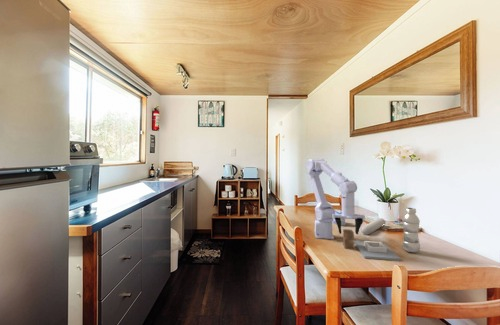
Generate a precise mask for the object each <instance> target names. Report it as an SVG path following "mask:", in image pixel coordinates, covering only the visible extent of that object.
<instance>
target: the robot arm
mask: <svg viewBox="0 0 500 325" xmlns="http://www.w3.org/2000/svg"><path fill="white" fill-rule="evenodd" d="M305 166H306V170H307V174H308V177H309V180H310V184H311V188H312V190H313V193H314V197H315V201H316V206H315V207H314V212H315V218H316V219H315V220H314V236H315V238H316V239H324V240H325V239H329V240H330V239H331V240H334V239H335V237H334V235H333V219H335V221H336V223H337V224H336V225H337V229H338V234H339V235H340V234H342V226H341V219H345V220H347V219H349V220H353V219H354V224H355V229H354V230H355V231H354V234H356V235H359V232H360V228H361V226H362V225H363V223H364V220H365V219H366V218H365V215H364V214H359V213H357V214H356V213H355V212H356V211H355V210H356V209H355V192H357V190H358V185H357V183H356V182H355V181H354V180H350V179H349V178H347V177H345V176H344V175H343V174H342V172H340V171H337V172H336V171H335V170H334V169H333V168H332V167H331V166H330V165H329V164H328V162H327V161H326V160H325V159H324V158H318V159H316V158H315V159H314V158H313V159H312V158H310V159H308V160H307V161H306V164H305ZM322 173H325V174H326V175H327V176H329V177H330V181H331V182H332V183H334V184H335V186H337V187H338V190H339V192H340V196H341V211H342V213H341V214H335V211H334V210H335V209H334V208H333V206H332V204H330V203H329V202H328V201H327V198H326V197H327V196H326V194H325V191H324V189H323V188H324V187H323V185H322V181H321V179H320V175H321V174H322Z"/></svg>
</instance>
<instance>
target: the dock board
mask: <svg viewBox="0 0 500 325" xmlns="http://www.w3.org/2000/svg"><path fill="white" fill-rule="evenodd" d="M354 246H356V248H357V249H358V251H359V252H360V254H361V255H362V257H363V258H364V259H369V260H385V261H395V262H396V261H398V262H401V260H402V259H401V257H399V255H398V254H397V253H396V252H394V251H393V249H392V248H390V247H389V246H388V245H387V244H386V243H385V242H383V241H370V240H368V241H367V240H354Z"/></svg>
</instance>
